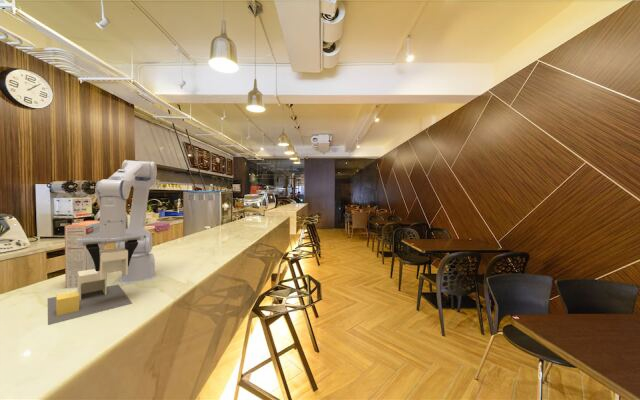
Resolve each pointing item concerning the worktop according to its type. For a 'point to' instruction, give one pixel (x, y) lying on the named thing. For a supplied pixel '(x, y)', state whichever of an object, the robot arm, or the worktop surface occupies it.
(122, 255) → the box
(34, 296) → the worktop surface
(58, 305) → the cube
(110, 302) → the mat
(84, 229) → the cracker box
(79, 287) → the box
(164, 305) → the worktop surface
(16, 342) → the worktop surface
